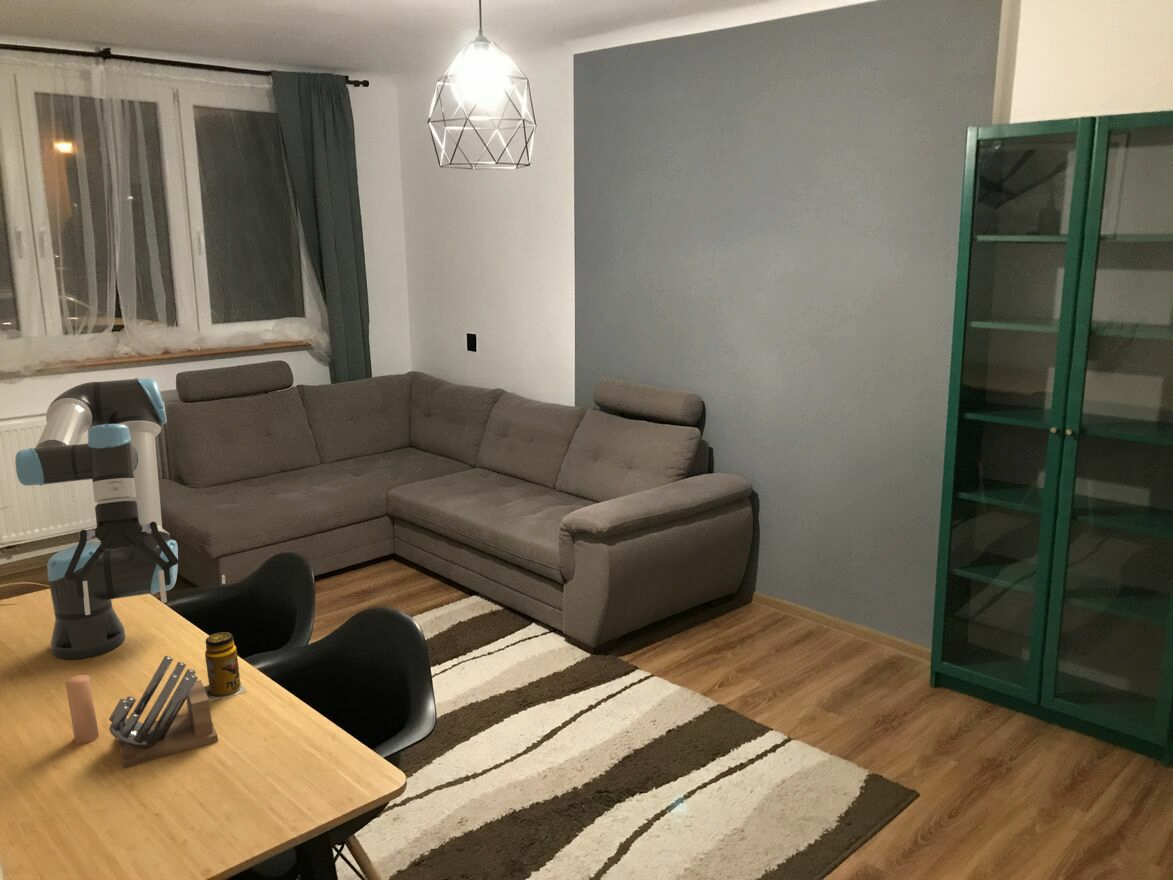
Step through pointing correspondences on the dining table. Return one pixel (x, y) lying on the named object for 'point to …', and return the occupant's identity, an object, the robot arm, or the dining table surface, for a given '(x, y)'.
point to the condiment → (222, 667)
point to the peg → (82, 709)
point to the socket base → (178, 731)
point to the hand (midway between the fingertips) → (126, 608)
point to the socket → (142, 732)
